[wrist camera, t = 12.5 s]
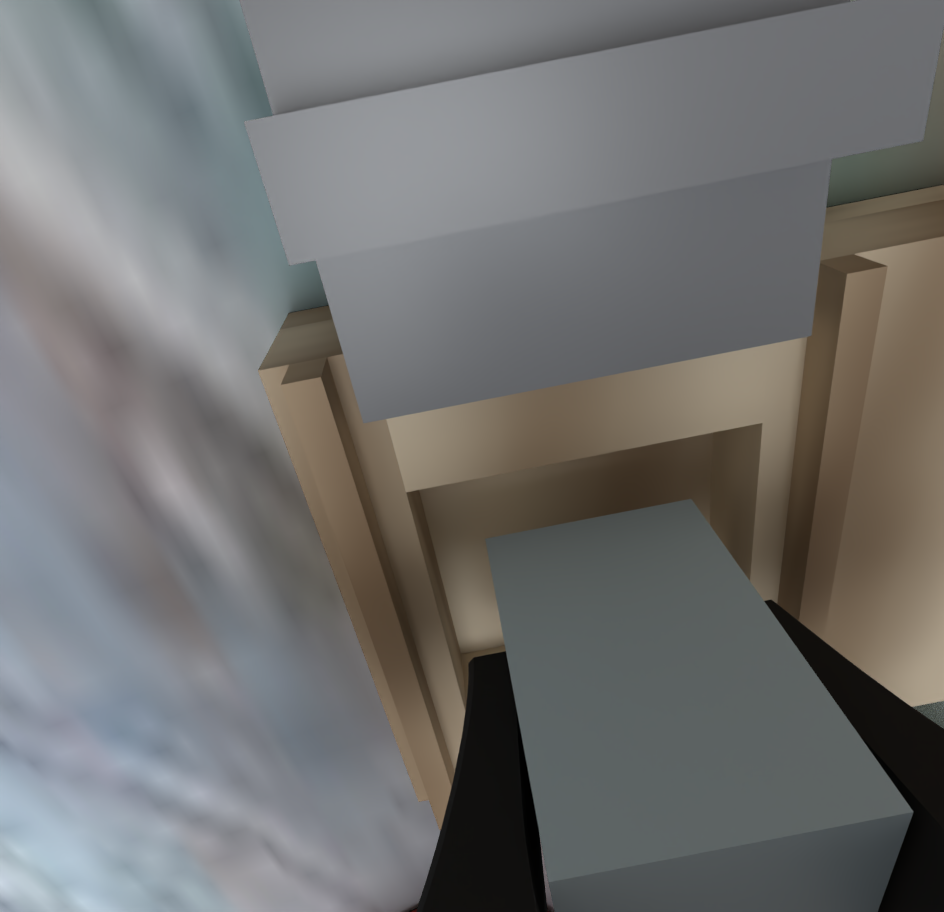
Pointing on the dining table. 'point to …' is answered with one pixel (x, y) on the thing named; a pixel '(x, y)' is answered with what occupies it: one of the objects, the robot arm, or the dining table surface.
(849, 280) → the pedestal
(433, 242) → the cover
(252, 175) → the dining table surface
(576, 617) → the block
